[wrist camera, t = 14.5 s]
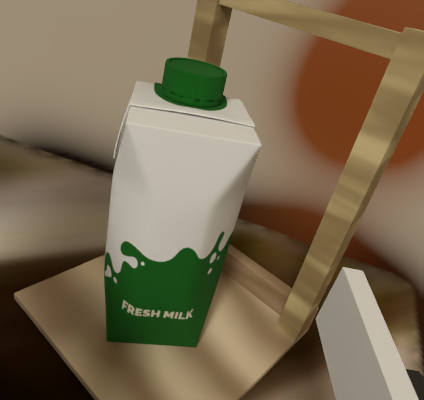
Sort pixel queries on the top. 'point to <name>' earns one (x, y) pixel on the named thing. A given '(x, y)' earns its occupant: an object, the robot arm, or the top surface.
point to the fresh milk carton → (174, 203)
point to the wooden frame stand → (235, 260)
